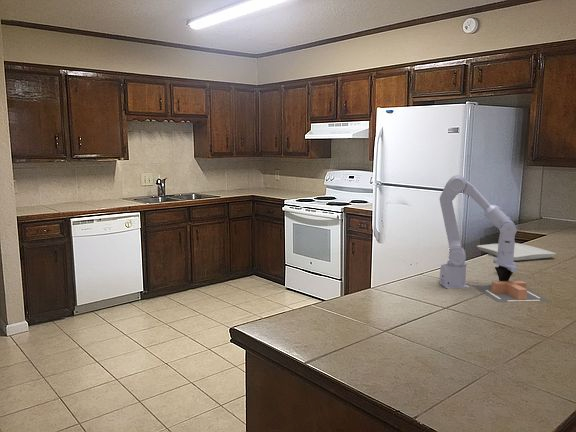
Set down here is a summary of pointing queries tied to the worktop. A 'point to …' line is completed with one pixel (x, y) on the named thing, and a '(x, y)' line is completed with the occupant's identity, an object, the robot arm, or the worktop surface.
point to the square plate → (519, 251)
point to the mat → (507, 298)
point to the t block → (510, 289)
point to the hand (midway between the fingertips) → (503, 285)
